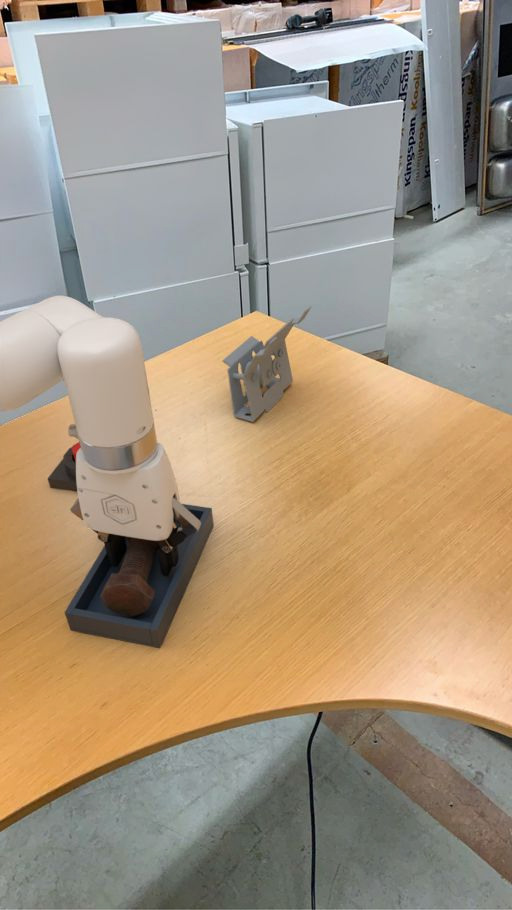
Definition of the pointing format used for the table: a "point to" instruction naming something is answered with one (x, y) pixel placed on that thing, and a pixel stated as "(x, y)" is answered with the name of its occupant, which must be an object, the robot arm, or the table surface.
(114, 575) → the bolt
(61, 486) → the station
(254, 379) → the bracket
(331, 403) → the table surface
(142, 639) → the tray
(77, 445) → the power button
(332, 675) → the table surface
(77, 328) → the robot arm
